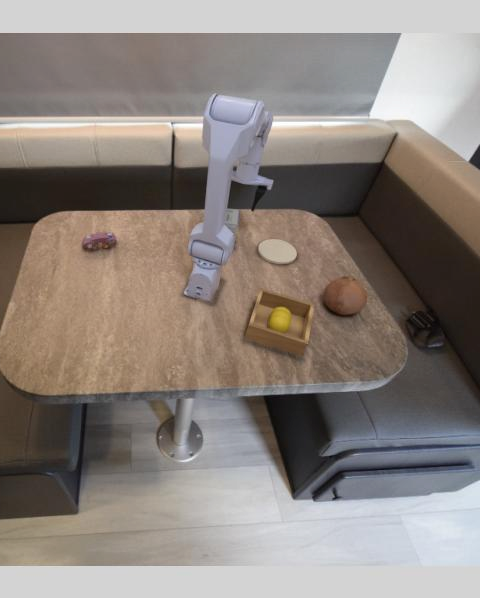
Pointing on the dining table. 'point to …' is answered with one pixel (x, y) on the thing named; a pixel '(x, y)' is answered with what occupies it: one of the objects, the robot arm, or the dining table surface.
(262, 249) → the plate
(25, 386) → the dining table surface
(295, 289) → the dining table surface
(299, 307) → the crate
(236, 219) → the medicine box
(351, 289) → the onion
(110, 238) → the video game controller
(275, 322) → the lemon
